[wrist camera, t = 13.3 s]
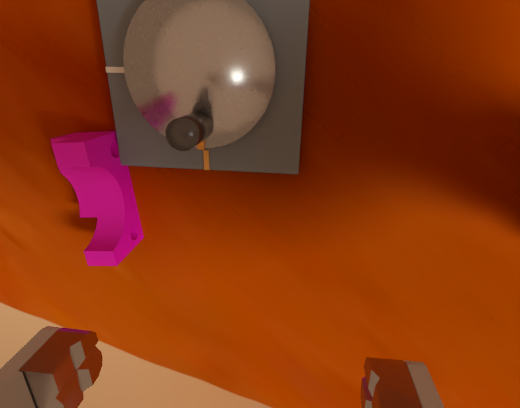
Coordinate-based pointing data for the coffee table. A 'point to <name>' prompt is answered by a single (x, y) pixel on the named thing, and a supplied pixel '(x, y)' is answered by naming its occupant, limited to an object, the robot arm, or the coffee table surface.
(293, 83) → the dial plate
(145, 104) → the dial
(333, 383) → the coffee table surface
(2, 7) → the coffee table surface
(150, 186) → the coffee table surface
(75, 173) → the toy block
